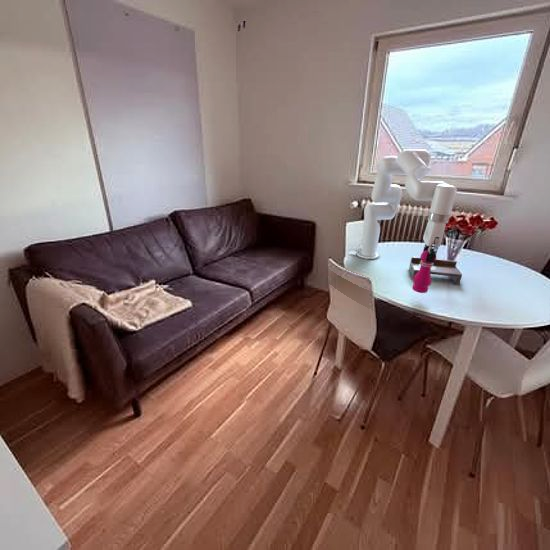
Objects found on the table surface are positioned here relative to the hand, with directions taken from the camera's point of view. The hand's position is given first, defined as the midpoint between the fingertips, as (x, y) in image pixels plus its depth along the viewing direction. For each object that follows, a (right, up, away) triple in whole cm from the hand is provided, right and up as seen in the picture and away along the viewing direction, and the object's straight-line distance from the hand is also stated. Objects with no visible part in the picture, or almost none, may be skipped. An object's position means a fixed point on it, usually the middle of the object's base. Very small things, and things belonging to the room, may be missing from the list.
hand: (427, 258), depth 131 cm
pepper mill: (0, -14, +7) cm, 15 cm away
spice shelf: (+18, -8, +30) cm, 36 cm away
